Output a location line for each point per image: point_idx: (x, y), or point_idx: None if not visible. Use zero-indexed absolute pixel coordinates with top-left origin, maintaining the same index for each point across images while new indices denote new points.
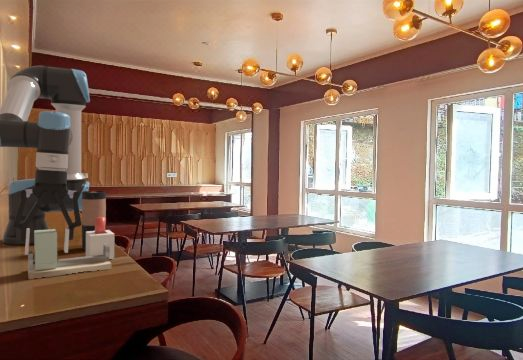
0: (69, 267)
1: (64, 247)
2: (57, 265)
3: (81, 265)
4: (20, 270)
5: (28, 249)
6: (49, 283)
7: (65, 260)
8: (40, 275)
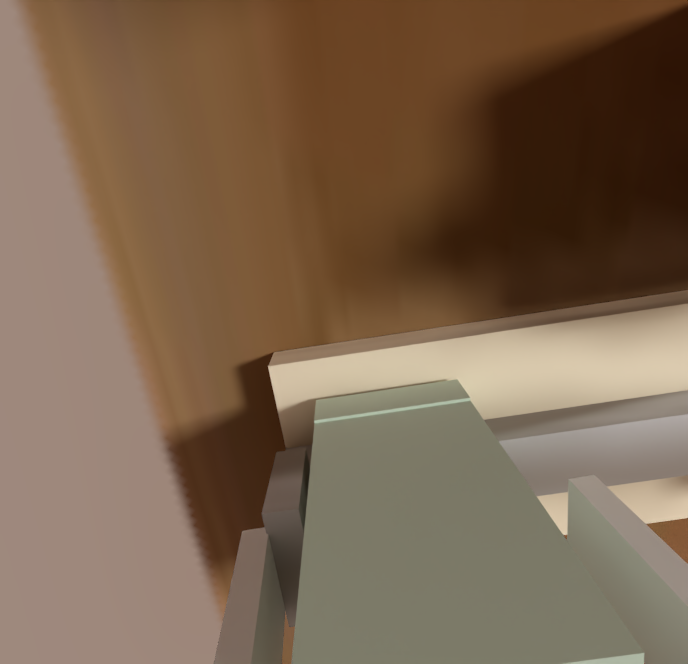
0: None
1: (591, 528)
2: None
3: (620, 485)
4: (224, 329)
5: (281, 646)
6: None
7: (539, 490)
8: None
